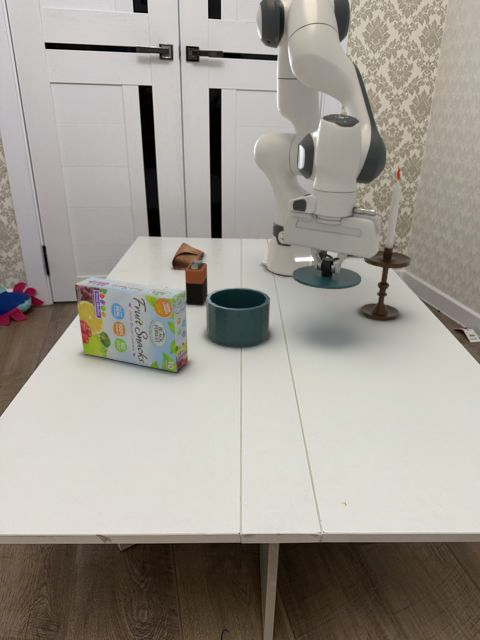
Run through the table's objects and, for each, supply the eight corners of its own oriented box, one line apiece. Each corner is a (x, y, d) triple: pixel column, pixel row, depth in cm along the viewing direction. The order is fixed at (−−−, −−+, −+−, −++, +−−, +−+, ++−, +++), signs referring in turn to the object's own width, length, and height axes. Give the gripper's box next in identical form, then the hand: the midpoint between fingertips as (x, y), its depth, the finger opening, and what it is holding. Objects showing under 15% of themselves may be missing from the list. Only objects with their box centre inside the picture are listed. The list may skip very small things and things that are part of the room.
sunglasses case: (200, 268, 153) (188, 249, 151) (180, 279, 155) (168, 260, 152) (205, 252, 169) (194, 235, 167) (187, 262, 171) (176, 245, 168)
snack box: (189, 361, 100) (187, 289, 93) (176, 373, 95) (172, 299, 89) (98, 343, 106) (90, 274, 99) (81, 354, 101) (71, 283, 95)
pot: (228, 317, 121) (229, 283, 117) (279, 330, 115) (280, 295, 111) (195, 337, 110) (193, 301, 106) (248, 352, 104) (249, 314, 100)
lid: (309, 266, 116) (311, 246, 114) (370, 278, 110) (372, 257, 108) (280, 283, 105) (281, 261, 103) (345, 297, 99) (348, 274, 97)
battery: (207, 296, 133) (207, 259, 129) (202, 305, 127) (202, 267, 123) (191, 295, 134) (190, 258, 129) (185, 304, 128) (184, 266, 123)
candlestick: (383, 325, 119) (407, 169, 104) (348, 311, 126) (365, 164, 111) (410, 314, 126) (435, 166, 110) (375, 302, 133) (394, 161, 117)
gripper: (388, 208, 99) (379, 276, 105) (295, 196, 107) (291, 259, 114) (378, 213, 94) (369, 284, 100) (281, 200, 102) (278, 266, 109)
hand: (327, 271), depth 107 cm, fingers closed on lid, 2 cm apart
